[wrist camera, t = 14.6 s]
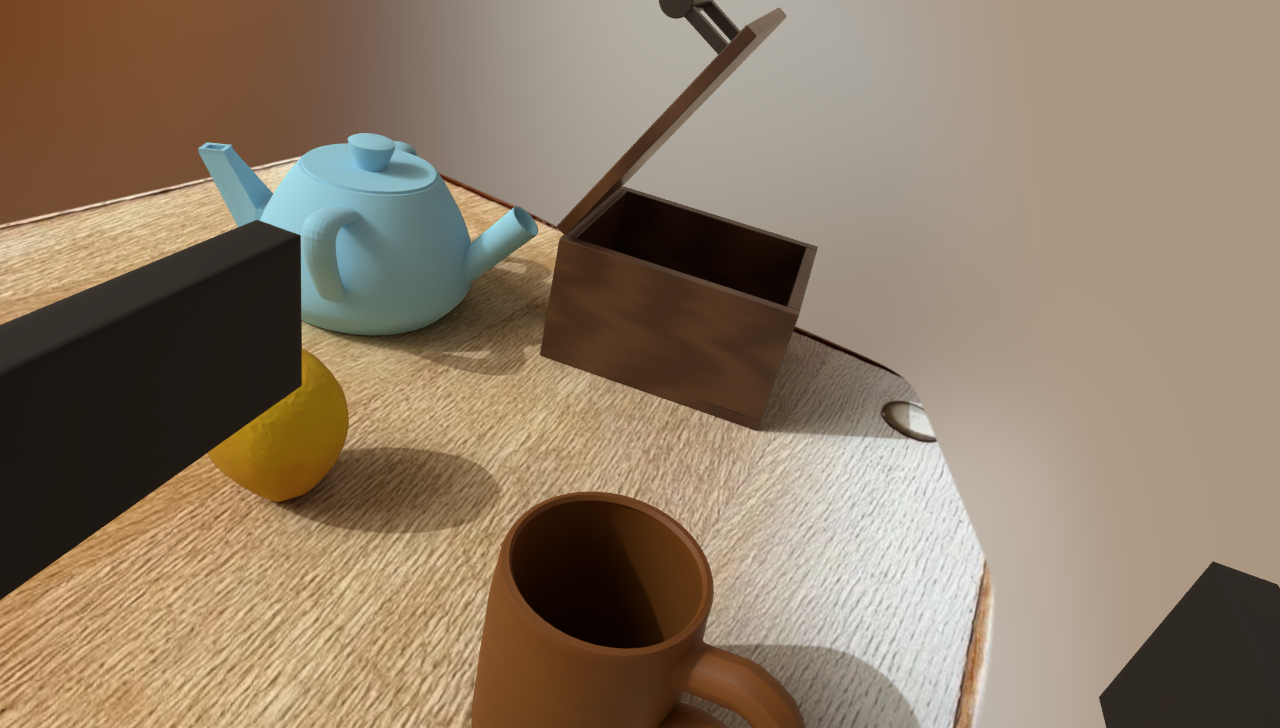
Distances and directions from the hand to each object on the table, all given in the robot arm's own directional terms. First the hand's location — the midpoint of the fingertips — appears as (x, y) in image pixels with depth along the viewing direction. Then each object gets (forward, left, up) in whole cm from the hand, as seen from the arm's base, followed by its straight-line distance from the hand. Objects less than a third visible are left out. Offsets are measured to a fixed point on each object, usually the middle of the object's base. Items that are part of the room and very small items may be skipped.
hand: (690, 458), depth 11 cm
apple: (+20, -16, -22) cm, 34 cm away
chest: (+6, -41, -22) cm, 47 cm away
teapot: (+27, -35, -22) cm, 50 cm away
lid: (+9, -41, -6) cm, 43 cm away
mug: (0, -9, -22) cm, 24 cm away
